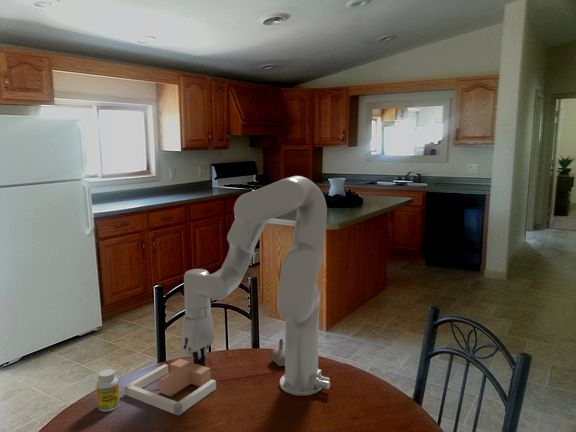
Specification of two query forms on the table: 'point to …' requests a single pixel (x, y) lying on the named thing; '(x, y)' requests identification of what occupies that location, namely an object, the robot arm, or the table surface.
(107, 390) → the supplement bottle
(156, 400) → the frame
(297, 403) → the table surface
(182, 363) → the t block
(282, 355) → the garlic bulb
